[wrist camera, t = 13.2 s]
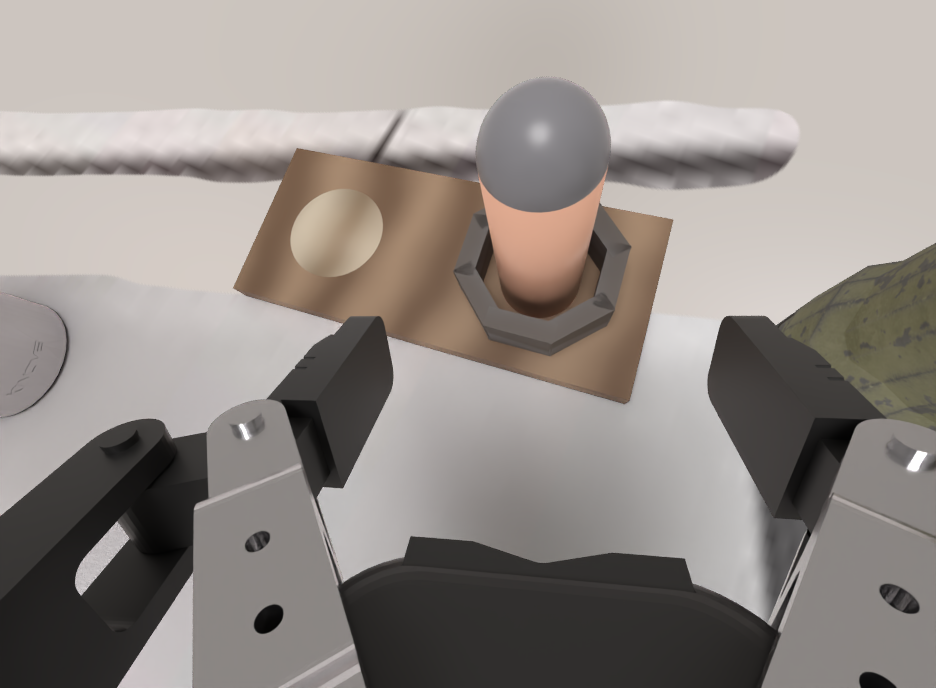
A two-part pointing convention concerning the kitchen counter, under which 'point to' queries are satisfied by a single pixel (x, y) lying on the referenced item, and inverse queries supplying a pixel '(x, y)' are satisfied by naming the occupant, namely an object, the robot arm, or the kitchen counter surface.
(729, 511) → the kitchen counter surface
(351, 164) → the jig
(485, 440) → the kitchen counter surface
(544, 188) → the round-topped orange cylinder
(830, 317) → the thermos
